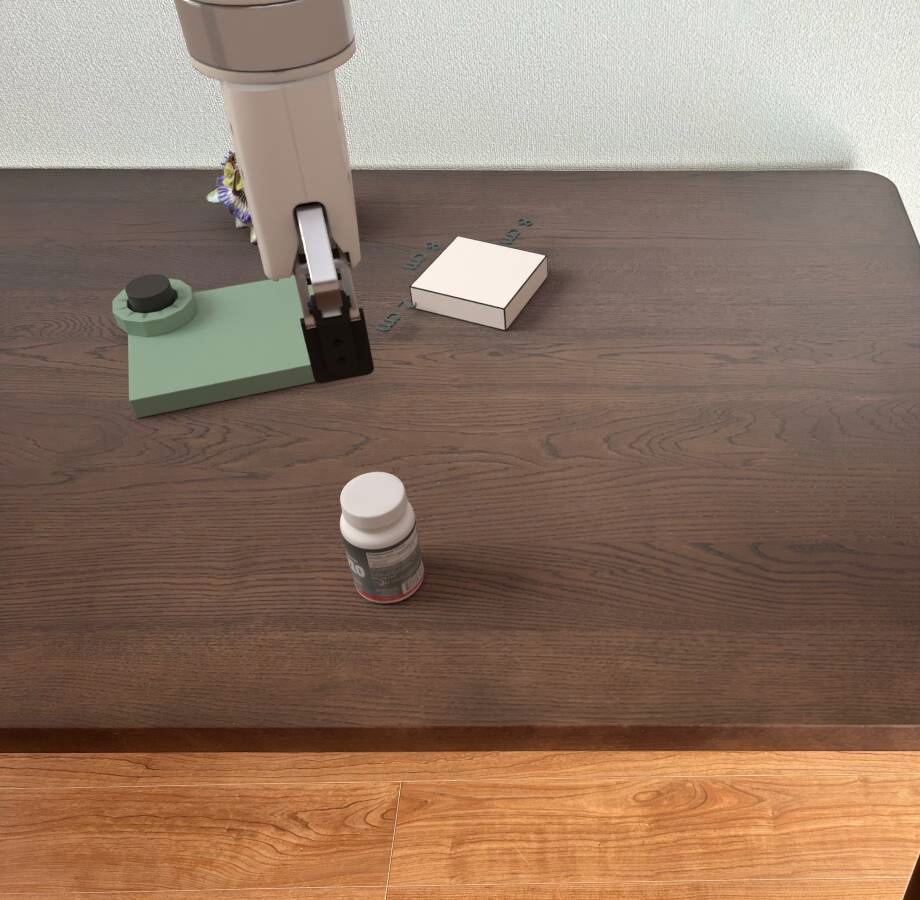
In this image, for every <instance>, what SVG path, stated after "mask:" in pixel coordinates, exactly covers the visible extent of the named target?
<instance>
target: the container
mask: <svg viewBox="0 0 920 900" xmlns="http://www.w3.org/2000/svg"><path fill="white" fill-rule="evenodd" d="M533 221H534V220H532V219H526V218H525V217H520V218H518V219H517V220H516V224H517V226H519V227H521V226H525V227H527V228H529V227H530V228H531V227H532V226H533V225H534V222H533ZM514 232H516V234H513V233H514ZM519 236H521V230H520V229H519V228H515V227H514V228H513V227H511V228H509V229H508V231H507V232H506V233H505V236H502V237H501V238H502V240H499V241H498V243H493V242H489V241H484V240H480V239H475V238H470V237H467V236H461V235H456V236H455V237H454V238H453V240H451V242H449V244H448V245H447V246H446V247H445V248H444V249H443V250H442V251H441V249H442V245H441V243H435V242H434V241H427V242H425V243H424V249H425V250H432V251H435V252H437V251H441V252H440V253H438V254H439V255H437V256H436V257H435V259H433V261H432V262H431V263H429V264H428V265H427V267H426V268H425V269H424V270H423V271H422V272H421V273H420V274H419V275H418V277H417V278H416V279H414V281H413V282H412V283H411V284H410V285H409V287H408V288H409V294H410V301H411V305H409V304H407V301H406V300H405V299H404V298H402V299H401V300H400V301H399V302H398V303H397V307H398V308H400V307H401V306H402V305H403V306H404V307H405V309H407V310H418V311H422V312H426V313H431V314H435V315H439V316H443V317H447V318H450V319H455V320H458V321H459V320H460V321H463V322H468V323H472V324H475V325H480V326H483V327H488V328H492V329H496V330H500V331H504V332H507V330H508V329H509V328H510V327H511V325H512V324H513V323H514V322H515V320H516V319H517V318H518V316H519V315H520V314H521V312H522V311H523V310H524V309H525V307H526V306H527V305H528V303H530V301H531V299H532V298H533V297H534V296H535V294H537V291H538V290H539V289H540V288H541V286H542V285H543V284H544V283H545V281H546V280H547V279H548V277H549V267H548V255H547V254H542V253H539V252H535V251H530V250H525V249H522V248H516V247H511V246H512V245H513V242H515V241H516V239H518V237H519ZM418 257H422V258H421V259H419V258H418ZM427 258H428V257H427V254H426V253H424V252H416V253H415V254H414V255H413V257H411V258H410V261H407V262H406V265H403V266H402V269H403V270H406V271H410V272H413V271H416V270H418V267H420V266H421V265H422V264H423V263H424V262H425V261H426V260H427ZM393 316H394V317H396V318H395V320H394V319H390V318H391V317H393ZM401 319H402V317H401V313H400V312H396V311H392V312H389V313H388V314H387V315H386V317H384V318H383V322H379V326H376V327H374V329H375V331H377V332H379V333H389V332H390V331H391V329H392V328H395V325H396V324H397V323H398V322H399V321H400V320H401ZM382 327H383V328H382Z"/></svg>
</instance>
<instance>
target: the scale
mask: <svg viewBox="0 0 920 900" xmlns="http://www.w3.org/2000/svg"><path fill="white" fill-rule="evenodd" d="M168 279H169V281H170V284H171V287H172V290H173V292H174V295H175V302H174V303H173V304H172V306H169V307H167V308H165V309H163V310H161V311H158V312H152V313H147V314H144V313H137V312H135V311H134V310H133V309H132V307H131V304H130V302H129V299H128V297H127V294H126V292H125V288H124V289H122V290H121V291H120V292H119V293H118V294H117V295H116V296H115V297H114V298H113V299H112V315H113V316H114V319H115V322H116V324H117V327H118V328H120V329H121V330H123V331H124V332H125V333H127V346H128V347H127V351H128V352H127V354H128V355H127V356H128V357H127V358H128V359H127V360H128V402H129V404H130V406H131V409H132V411H133V414H134V417H135V418H136V419H141V418H145V417H149V416H155V415H160V414H164V413H165V414H166V413H169V412H175V411H179V410H180V411H181V410H184V409H190V408H194V407H199V406H204V405H208V404H213V403H219V402H223V401H224V402H225V401H227V400H228V401H229V400H233V399H238V398H243V397H248V396H252V395H259V394H262V393H267V392H272V391H277V390H281V389H287V388H291V387H296V386H301V385H306V384H312V383H317V382H316V381H315V380H314V376H313V372H312V368H311V364H310V360H309V356H308V352H307V348H306V344H305V340H304V335H303V331H302V327H301V323H300V318H304V316H303V311H302V307H301V302H300V298H299V293H298V289H297V284H296V280H295V276H294V274H293V275H292V274H291V277H290V278H282V279H279V281H273V280H271V279H269V278H268V279H264V280H259V281H253V282H246V283H242V284H236V285H229V286H223V287H218V288H213V289H208V290H201V291H196V292H193V289H192V288H193V287H191V286H190V285H189V284H187V283H186V282H184V281H183V280H181V279H175V278H168ZM308 289H309V293H310V295H314V291H313V287H312V285H308ZM310 298H311V297H310Z"/></svg>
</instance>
